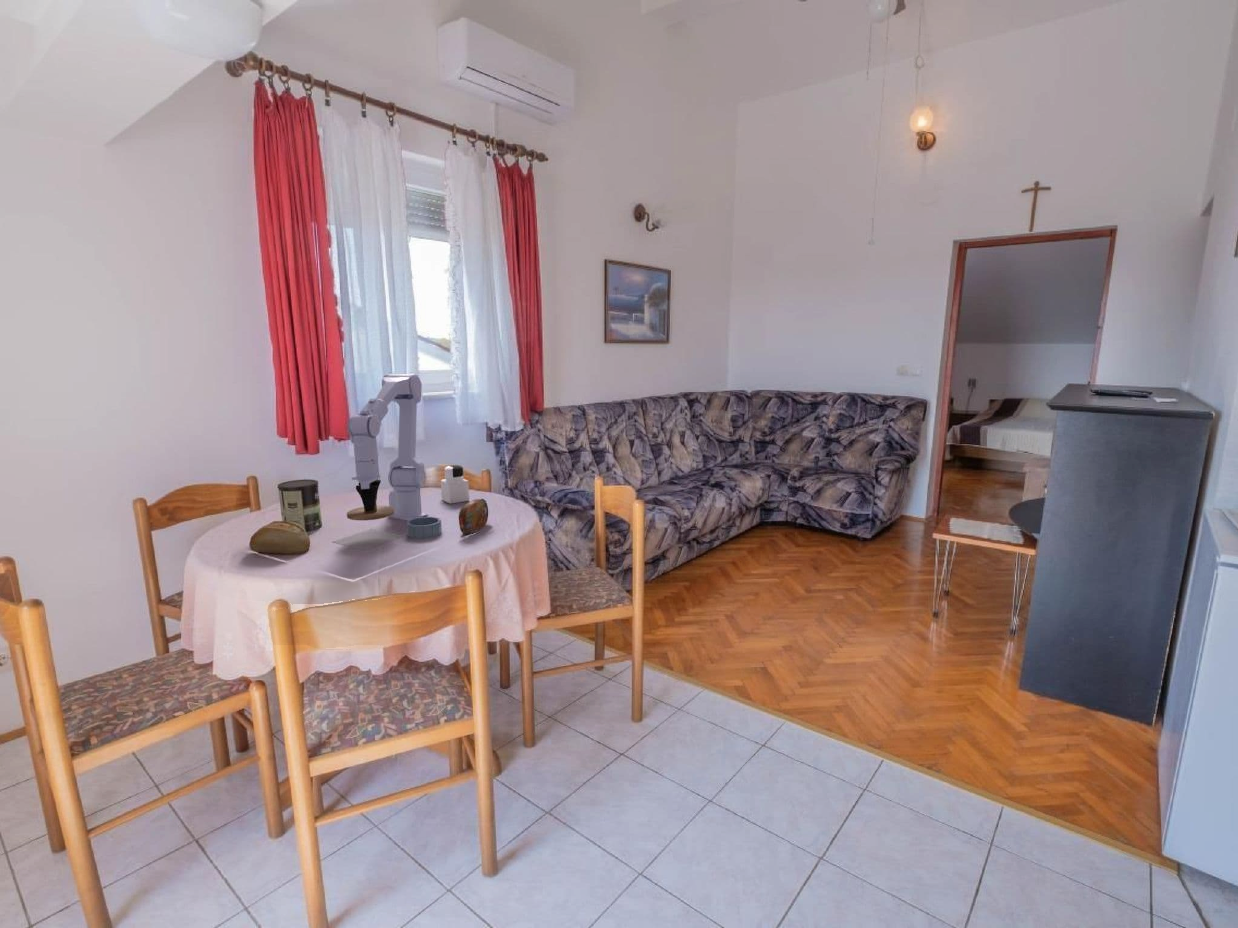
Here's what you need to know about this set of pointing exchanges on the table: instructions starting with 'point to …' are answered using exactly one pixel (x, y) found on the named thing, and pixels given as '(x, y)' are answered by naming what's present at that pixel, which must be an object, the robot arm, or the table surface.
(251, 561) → the table surface
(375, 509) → the lid
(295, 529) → the bread roll
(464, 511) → the tin
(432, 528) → the bowl
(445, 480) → the medicine bottle
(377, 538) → the mat
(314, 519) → the coffee can
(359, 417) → the robot arm
